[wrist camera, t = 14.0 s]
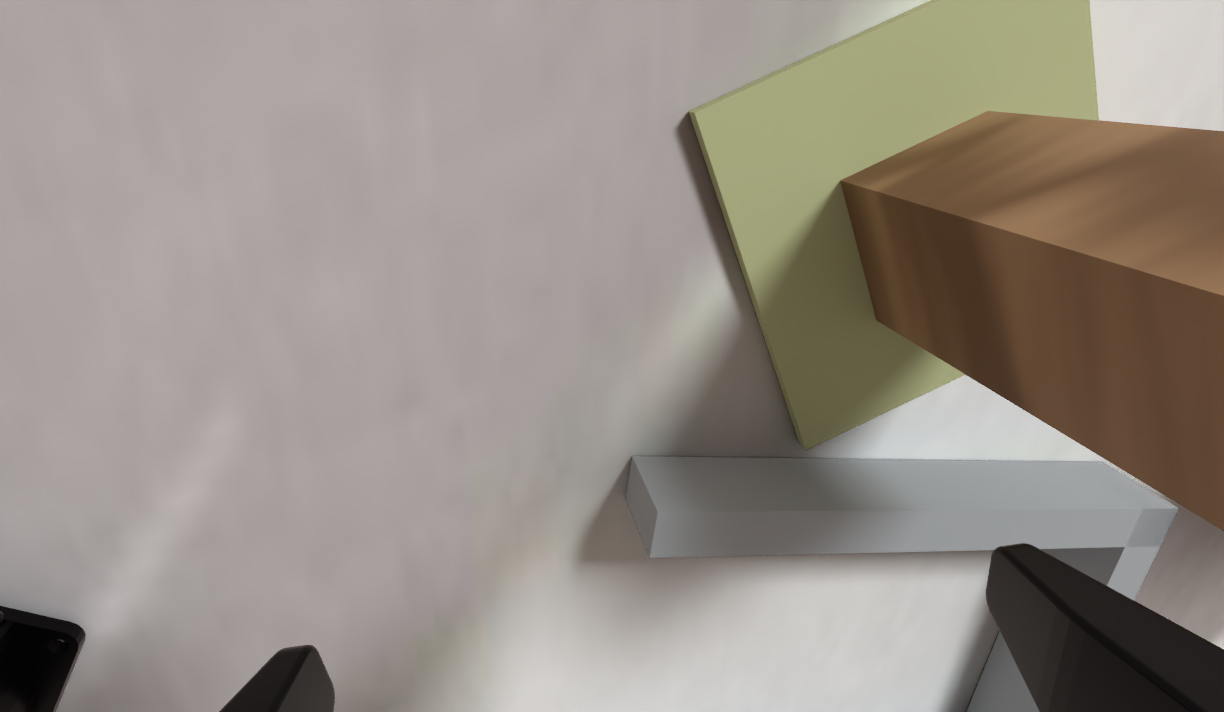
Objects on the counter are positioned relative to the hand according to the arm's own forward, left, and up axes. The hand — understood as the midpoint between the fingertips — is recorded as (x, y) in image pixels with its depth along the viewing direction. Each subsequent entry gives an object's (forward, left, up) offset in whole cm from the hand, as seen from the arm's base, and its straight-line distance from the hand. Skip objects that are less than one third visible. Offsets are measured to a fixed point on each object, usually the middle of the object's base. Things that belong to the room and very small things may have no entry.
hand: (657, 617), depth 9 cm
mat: (+8, -8, -11) cm, 16 cm away
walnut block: (+8, -8, -11) cm, 16 cm away
